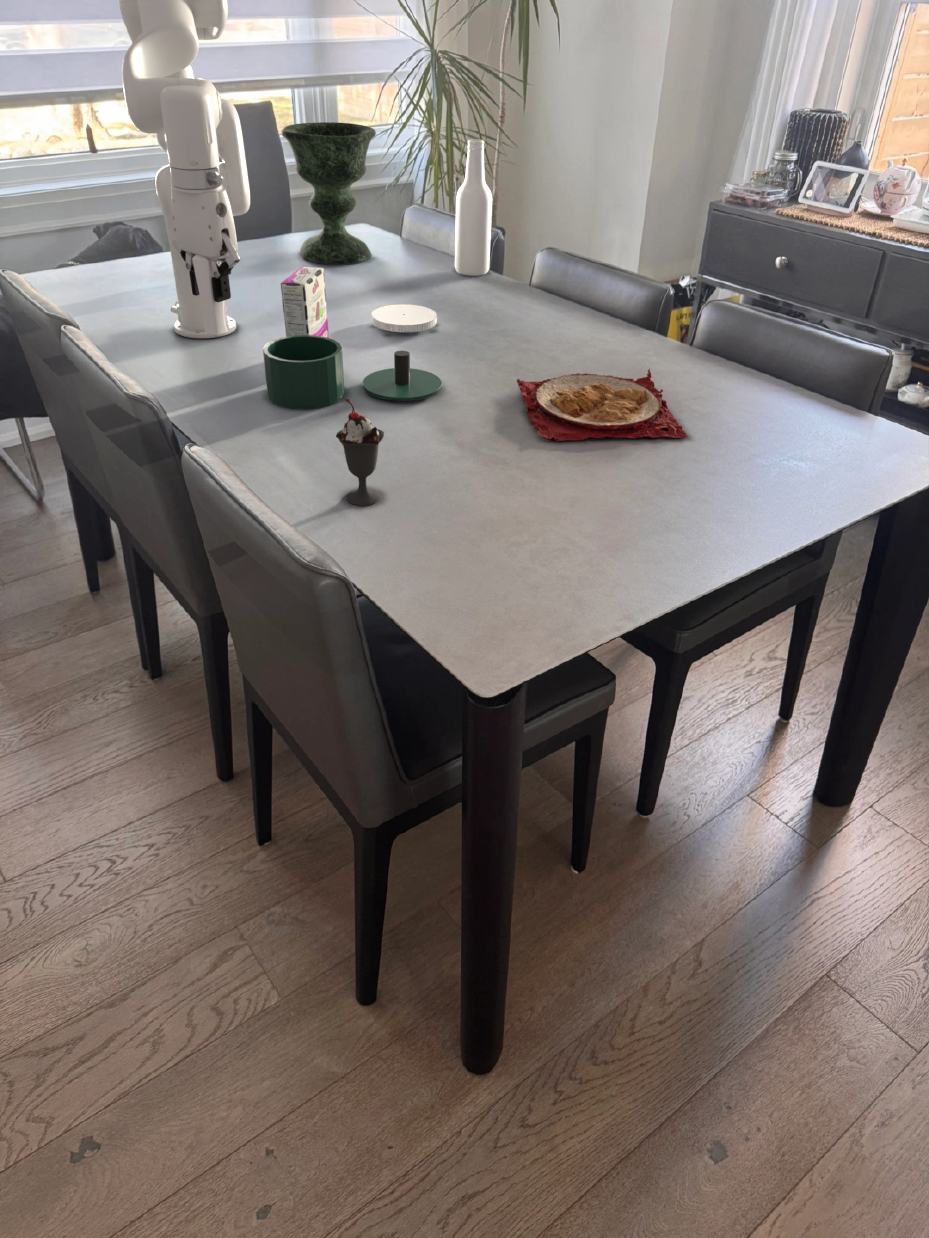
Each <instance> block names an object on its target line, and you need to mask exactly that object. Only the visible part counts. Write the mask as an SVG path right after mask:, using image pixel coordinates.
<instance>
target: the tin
mask: <svg viewBox="0 0 929 1238" xmlns="http://www.w3.org/2000/svg"><path fill="white" fill-rule="evenodd" d="M262 354H263V364H264V372H265V383H266V392H267V397H268V399H269V401H270V402H271V403H273V404H275V405H277V406H279V407H281V408H286V409H293V410H295V409H296V410H314V409H320V408H325V407H329V406H332V405H335V404H337V403H338V402H339V401H341V400H342V399H343V397H344V395H345V379H344V360H343V357H344V356H343V347H342V345H341V343H340V342H339V341H337V340H335V339H332V338H330V337H329V338H326V337H320V336H311V335H299V336H289V337H286V336H283V337H279V338H276V339H274V340H273V339H272V340H271V341H269V342H267V343H266V344H265V345H264V347H263V348H262Z"/></svg>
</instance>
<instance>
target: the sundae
mask: <svg viewBox="0 0 929 1238" xmlns="http://www.w3.org/2000/svg"><path fill="white" fill-rule="evenodd" d="M345 402H347V403H348V404H349V405H350V406H351V410H352V411H351V412H349V413H348V415H347V417H348V420H347V421H346V422H344V424H343V427H342V429H341V430H338V431H337V433H336V435H335V437H336V438H337V439H338V441H339V442H340V443H341V444H342V447H343V452H344V457H345V461H346V465H347V468H348V471H349V472H350V473H351V474H352V475H353V476H354V477H356V478H357V479H358V486H357V489H353V490H351V491H349V492H348V493H347V494H346V495H345V497H346V498H345V499H346V501H347V502H348V503H349V504H352V505H355V506H359V507H361V506H362V507H363V506H371V505H374V504H376V503H377V502H379V500H380V498H381V495H380V494H379V493H378V491H376V490H373V489H370V488H368V486H367V478H368V477H370V476H371V475H372V474H373V473H374V472H375V470H376V466H377V463H378V462H377V461H378V453H379V444H380V443H381V442H382V440H383V438H384V437H385V432H384V431H383V430H381V429H380V428H379V429H378V428H377V426H374V425H372V422H371V420H370V419H369V418H368V417H366V416H365V415H361V414H359V412H356V410H355V407H354V405H353V403H352V402H351V401H350V399H349V398H345Z"/></svg>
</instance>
